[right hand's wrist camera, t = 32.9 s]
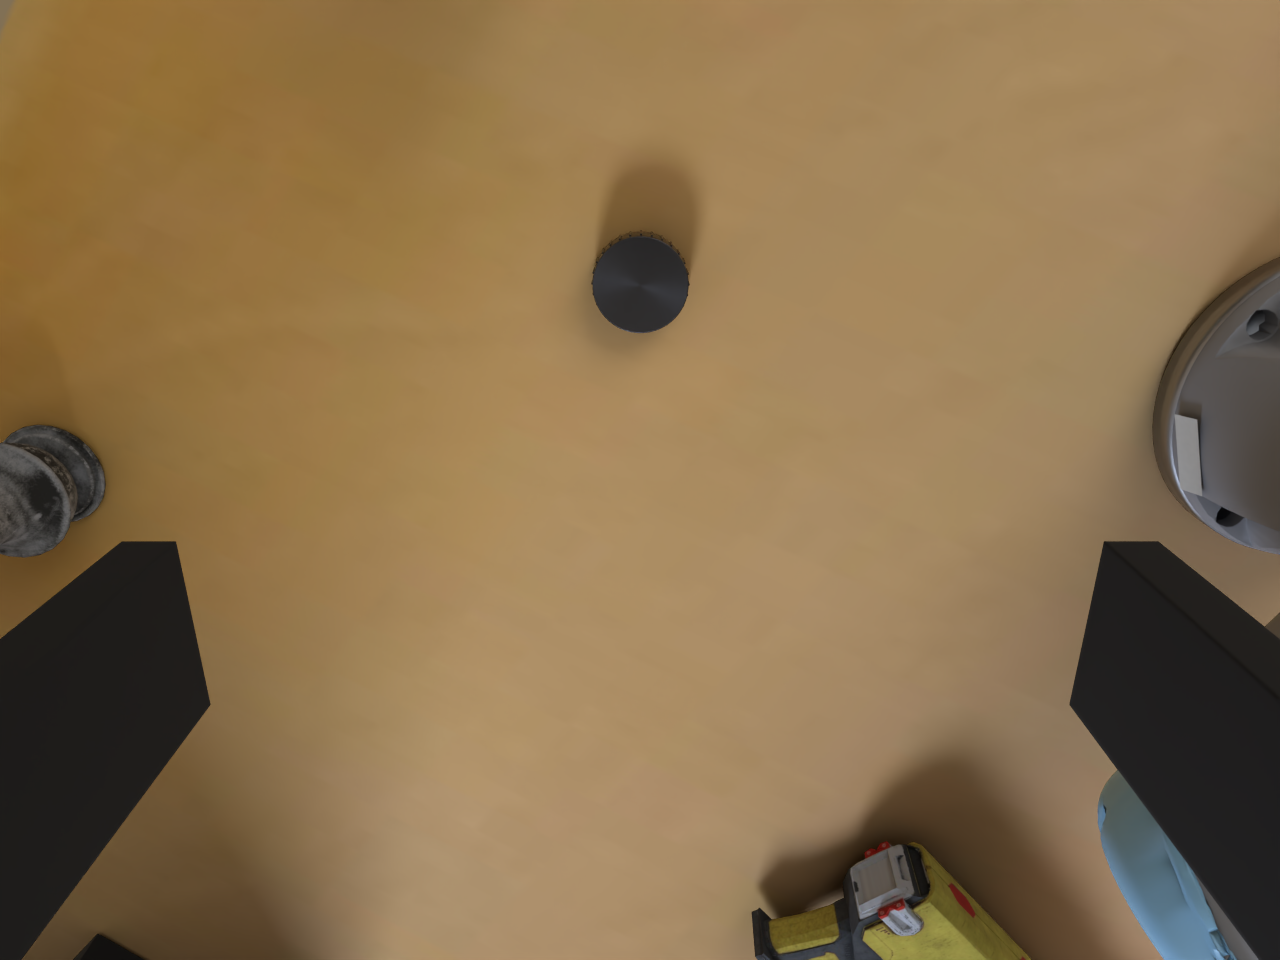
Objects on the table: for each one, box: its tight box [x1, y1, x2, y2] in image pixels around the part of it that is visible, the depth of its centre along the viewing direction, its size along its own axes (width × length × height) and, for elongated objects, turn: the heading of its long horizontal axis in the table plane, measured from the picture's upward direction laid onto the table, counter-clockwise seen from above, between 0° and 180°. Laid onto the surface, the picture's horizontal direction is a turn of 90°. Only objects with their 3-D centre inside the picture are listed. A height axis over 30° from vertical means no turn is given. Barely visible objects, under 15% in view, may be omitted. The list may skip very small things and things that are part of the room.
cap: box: [592, 230, 689, 333], centre depth 41 cm, size 4×4×2 cm
